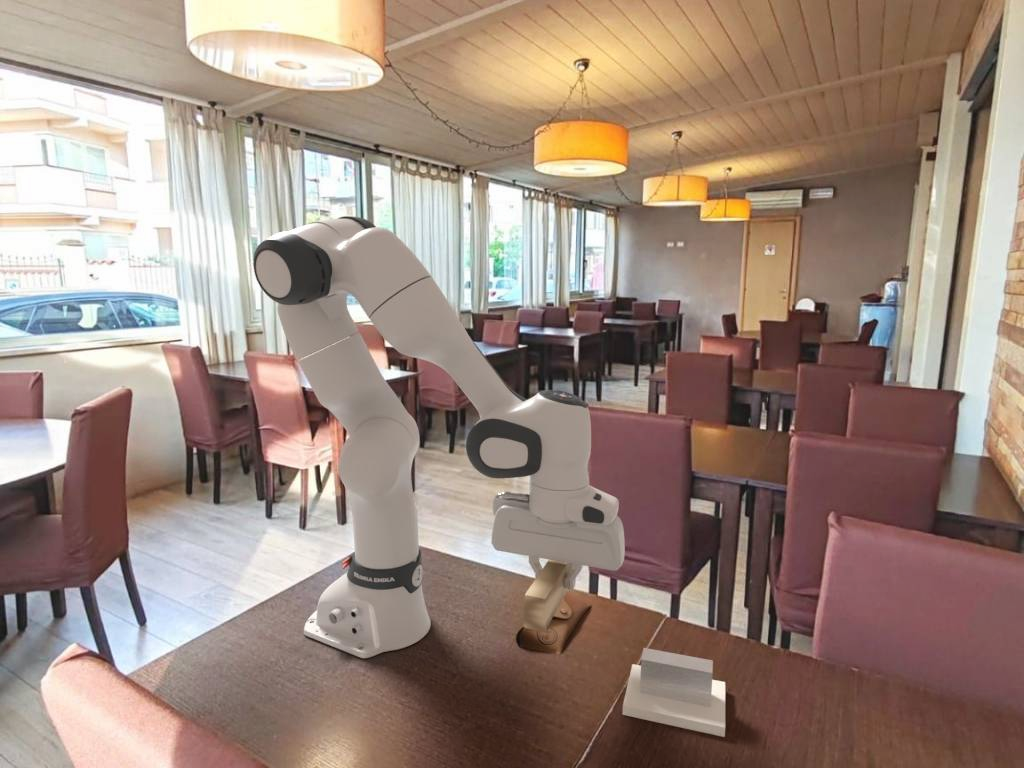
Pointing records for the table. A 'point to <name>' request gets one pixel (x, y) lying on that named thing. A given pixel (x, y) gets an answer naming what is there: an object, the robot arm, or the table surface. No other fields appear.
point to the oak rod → (545, 595)
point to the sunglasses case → (555, 627)
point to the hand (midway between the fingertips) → (555, 584)
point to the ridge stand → (676, 692)
